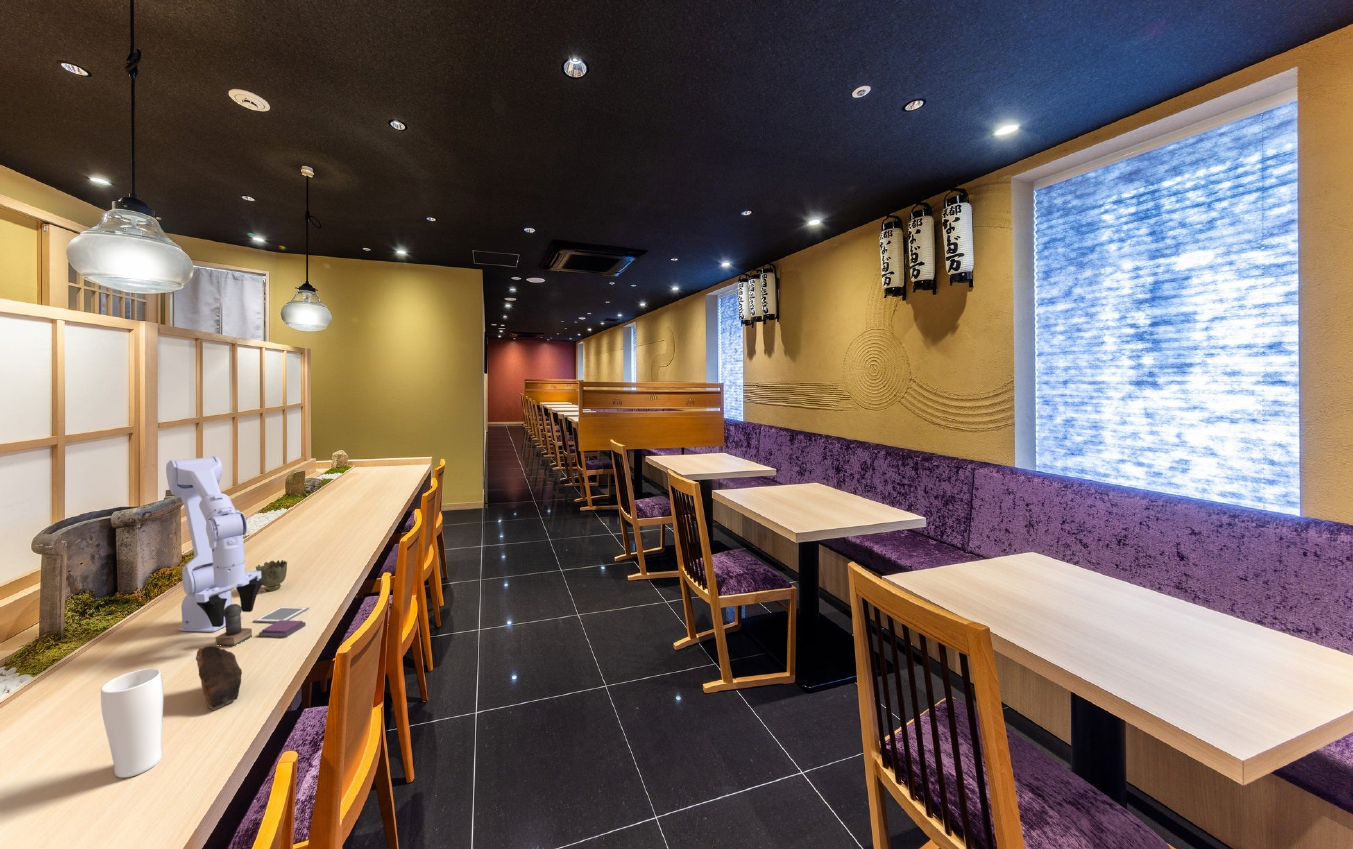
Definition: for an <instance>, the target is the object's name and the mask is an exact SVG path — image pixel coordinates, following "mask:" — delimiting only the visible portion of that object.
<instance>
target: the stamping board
mask: <svg viewBox="0 0 1353 849" xmlns="http://www.w3.org/2000/svg"><path fill="white" fill-rule="evenodd" d="M309 609H310V607H301V606H300V607H298V606H279V607H277V608H275V609H273V610H271V611H270V612H267V613H266V614H264V615H261V616H260V617H258V618H256V619H254V620H252V623H254V622H256V623H257V622H262V623H261V624H274V623H276V622H277V621H279V620H289V621H291V620H292V619H294V618H295V617H298V616H299V615H301V614H302V613H305V612H307V611H308V610H309ZM256 623H255V624H256Z"/></svg>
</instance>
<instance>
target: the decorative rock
mask: <svg viewBox="0 0 1353 849" xmlns="http://www.w3.org/2000/svg"><path fill="white" fill-rule="evenodd" d="M195 661H196V662H197V667H198V668H197V670H198V676H199V679H200V682H201V683H200V684H201V688H202V692H203V695H204V697H205V701H206V703H207V704H206V705H207V707H208V709H211V710H212V711H216V710H218V709H221V708H223V707H225V706H227V705H228V704H231V703H232V702H234V701H235V700H238V697H239V693H240V687H241V683H242V674H243V671H242V668H241V667H240V666H239V663H238V661H237V659H236V655H235V654H234V653H232V651H230V650H229V651H228V650H227V649H225V648H220V646H214V645H209V646H208V645H207V646H203V647H199V648H198V650H197V652H196V656H195Z"/></svg>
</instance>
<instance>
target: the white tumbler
mask: <svg viewBox="0 0 1353 849" xmlns="http://www.w3.org/2000/svg"><path fill="white" fill-rule="evenodd" d="M163 681H164V680H163V675H162V670H160V669H159V668H143V669H139V670H134V671H131V672H128V673H125V674H122V675H119V676H117V677H114V678H113V679H111V680H109V681H108V682H106V683H104V684H103V685H102V687H101V688H100V707H101V708H100V709H101V716H102V720H103V724H104V728H105V733H106V736H107V741H108V745H109V746H108V747H109V749H110V754H111V758H112V759H111V760H112V762H113V770H114V775H115V776H116V777H117V778H123V779H124V778H131V777H134V776H137V775H141V774H143V773H145V772H146V771H149V770H151V769H152V768H154V767H155V766H156V765H157V764H158V763H159V762H160V761H161V760H162V758H163V725H164V724H163V723H164V722H163V721H164V720H163V719H164V701H165V700H164V698H165V697H164V682H163Z"/></svg>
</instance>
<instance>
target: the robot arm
mask: <svg viewBox="0 0 1353 849" xmlns="http://www.w3.org/2000/svg"><path fill="white" fill-rule="evenodd" d="M165 473H166V479H167V484H168V489H169V491H170V493H171V495H172V496H173V495H174V496H178V497H180V499H181V501H182V504H183V506H184V511H185V517H186V521H187V524H188V525H187V526H188V529H189V530H188V531H189V536H190V541H191V545H192V549H193V555H194V556H193V558H191V559H190V560H189V561H188V562H187V563H186V564H184V566H183V568H182V570H181V574H182V588H183V591H184V593H185V595H186V596H184V598H183V600H182V602H181V618H182V627H180V628H179V631H180V632H201V633H203V632H205V633H206V632H207V633H214V632H217V631H219V630H221V629H222V628H224V627H225V628H226V624H225V617H224V609H225V608H226V607H227V606H229V605H231V604H233V598H232V590H234V589H236V590H237V593H238V595H239V600H240V602H239V603H240V606H241V608H242V612H243V613H251V612H253V610H254V607H255V606H254V605H255V603H256V599H257V596H258V593H259V592H260V590H261V587H262V586H263V581H261V580H258V579H260V578H261V571H256V570H252V571H250V572H246V556H245V541H244V540H245V539H244V536H245V535H246V534H247V533H248V531H247V530H248V524H247V519H246V515H245V514H244V513H243V512H242V511H240V510H239V509H236V508H235V506H234V504H233V502H232V500H231V498H230V496H229V495H227V494H225V493H222V492H221V489H220V487H219V485H220V482H221V478H222V476H223V463H222V461H221V458H219V457H217V455H216V456H211V457H210V456H209V457H199V458H187V459H179V460H178V459H176V460H173V459H171V460H169V461H168V462H167V463H166V466H165ZM242 618H243V615H241V619H242Z"/></svg>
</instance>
